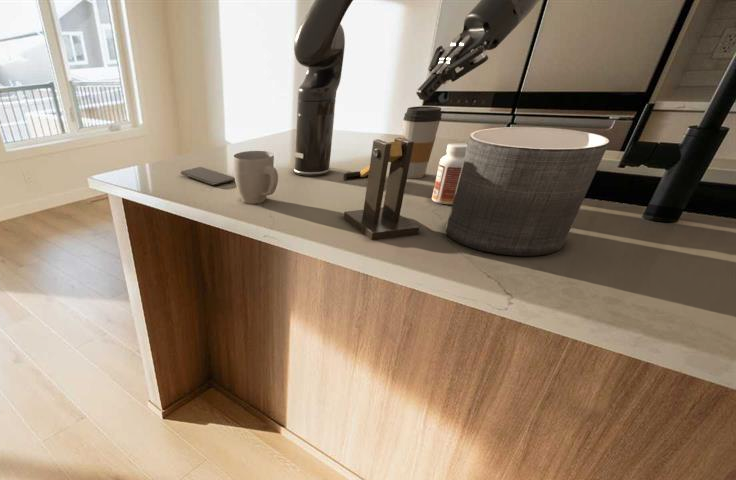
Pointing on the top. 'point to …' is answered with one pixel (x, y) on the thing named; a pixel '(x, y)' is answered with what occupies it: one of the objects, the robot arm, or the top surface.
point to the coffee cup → (421, 136)
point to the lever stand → (388, 217)
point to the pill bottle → (449, 173)
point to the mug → (255, 175)
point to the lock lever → (394, 155)
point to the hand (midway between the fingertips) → (420, 96)
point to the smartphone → (207, 176)
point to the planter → (522, 188)
